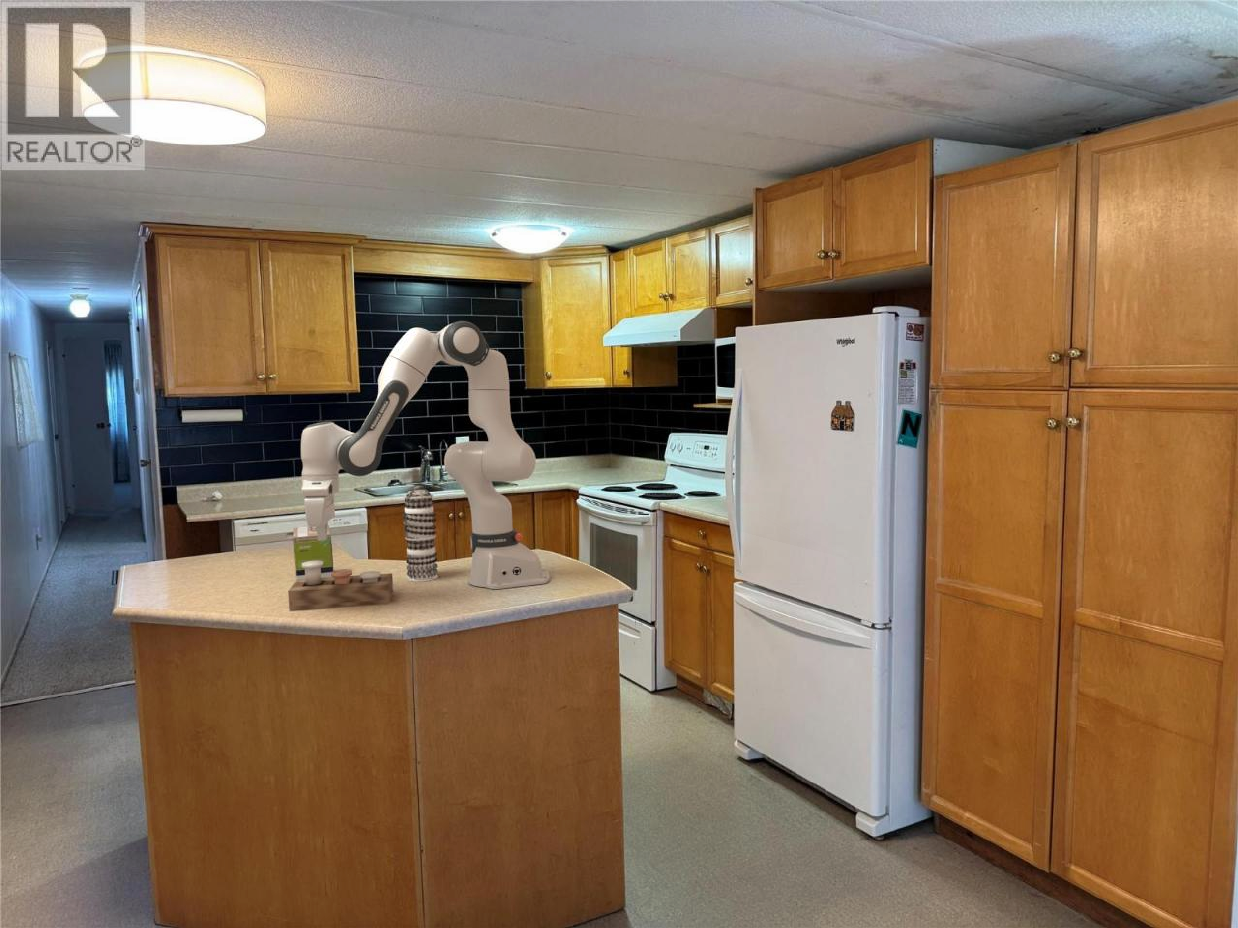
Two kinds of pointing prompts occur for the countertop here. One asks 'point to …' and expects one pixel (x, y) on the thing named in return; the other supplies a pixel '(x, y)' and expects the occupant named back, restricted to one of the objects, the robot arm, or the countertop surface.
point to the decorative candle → (420, 536)
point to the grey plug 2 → (370, 576)
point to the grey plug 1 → (312, 572)
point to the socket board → (340, 593)
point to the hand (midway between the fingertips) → (322, 539)
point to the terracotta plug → (341, 576)
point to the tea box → (312, 550)
